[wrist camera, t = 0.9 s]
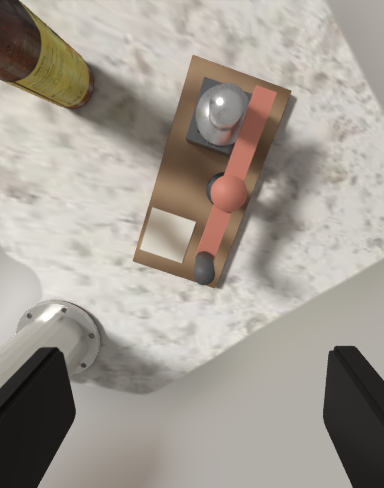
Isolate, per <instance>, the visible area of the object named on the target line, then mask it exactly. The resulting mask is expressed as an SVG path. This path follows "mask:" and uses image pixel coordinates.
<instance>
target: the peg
mask: <svg viewBox="0 0 384 488" xmlns="http://www.w3.org/2000/svg"><path fill="white" fill-rule="evenodd" d="M249 103H250V101H249V99H248V97H247V96H246V94H245V93H244V92H243V90H242V89H241V88H240V87H239V86H238V85H236V84H234V83H223V84H220V85H216V86H214V87H212V88H210V89H208V90H207V91H206V92H205V93H204V94H203V95H202V97H201V98H200V100H199V102H198V105H197V108H196V124H197V127H198V130H199V132H200V134H201V135H202V137H203V138H204V139H205V140H207V141H208V142H210V143H212V144H214V145H218V146H226V145H230V144H233V143H235V142H236V140H237V137H238V134H239V131H240V128H241V126H242V123H243V120H244V117H245V114H246V111H247V109H248V106H249Z"/></svg>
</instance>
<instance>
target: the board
mask: <svg viewBox="0 0 384 488" xmlns="http://www.w3.org/2000/svg"><path fill="white" fill-rule="evenodd" d="M204 77H207V78H210V79H213V80H215V81H218V82H221V83H234V84H236V85H238V86H239V87H240V88H241V89H242V90H243V91H246V92H249V93H251V94H253V92H254V89H255V87H256V85H258V86H260V87H263V88H266V89H269V90H271V91H274V92H277V94H276V96H275V99H274V102H273V104H272V107H271V110H270V112H269V115H268V118H267V120H266V123H265V126H264V128H263V131H262V134H261V136H260V139H259V142H258V144H257V147H256V150H255V152H254V155H253V158H252V160H251V163H250V166H249V168H248V171H247V174H246V176H245V179H244V183H245V185H246V188H247V198H246V201H245V203H244V204H243V205H242V206H241V207H240V208H239V209H237V210H235V211H232V214H231V216H230V219H229V221H228V224H227V227H226V229H225V232H224V235H223V237H222V240H221V243H220V245H219V248H218V251H217V253H216V256H215V259H214V269H215V278H214V280H213V282H212V283H210V284H208V285H206V286H209V287H212V288H215V287H216V284H217V282H218V279H219V277H220V274H221V272H222V269H223V266H224V264H225V261H226V259H227V256H228V254H229V251H230V248H231V246H232V243H233V241H234V238H235V236H236V233H237V230H238V228H239V225H240V223H241V220H242V217H243V215H244V212H245V210H246V207H247V205H248V202H249V199H250V197H251V194H252V192H253V189H254V187H255V184H256V181H257V179H258V176H259V174H260V171H261V169H262V166H263V163H264V161H265V158H266V156H267V153H268V150H269V148H270V145H271V143H272V140H273V138H274V135H275V132H276V130H277V127H278V125H279V122H280V120H281V117H282V114H283V112H284V109H285V107H286V104H287V102H288V99H289V96H290V94H291V90H288V89H285V88H283V87H280V86H277V85H274V84H272V83H269V82H266V81H263V80H261V79H258V78H255V77H252V76H250V75H247V74H244V73H241V72H239V71H236V70H233V69H230V68H228V67H225V66H222V65H219V64H217V63H214V62H211V61H209V60H206V59H203V58H200V57H198V56H195V55H193V56H192V59H191V63H190V66H189V70H188V73H187V76H186V80H185V83H184V87H183V90H182V94H181V97H180V100H179V104H178V107H177V111H176V114H175V118H174V121H173V124H172V128H171V131H170V135H169V138H168V142H167V145H166V148H165V152H164V155H163V159H162V162H161V166H160V169H159V172H158V176H157V179H156V183H155V186H154V190H153V193H152V196H151V200H150V203H149V207H148V210H147V214H146V217H145V221H144V224H143V227H142V231H141V234H140V238H139V241H138V245H137V248H136V251H135V255H134V258H133V261H134V262H137V263H140V264H143V265H146V266H149V267H152V268H155V269H158V270H161V271H164V272H167V273H170V274H173V275H176V276H179V277H182V278H185V279H188V280H191V281H194V282H196V281H195V279H194V277H193V273H194V264H195V257H196V252H197V250H198V247H199V244H200V241H201V238H202V235H203V233H204V230H205V227H206V224H207V221H208V219H209V216H210V213H211V210H212V207H213V204H212V203H211V202H210V201H209V199H208V197H207V193H206V188H207V184H208V182H209V180H210V179H211V178H212V177H213V176H214V175H215V174H218V173H221V172H225V171H226V168H227V165H228V162H229V159H230V158H229V157H226V156H223V155H220V154H218V153H215V152H212V151H209V150H206V149H203V148H201V147H198V146H195V145H192V144H189V143H187V141H186V139H185V138H186V135H187V132H188V128H189V125H190V122H191V119H192V115H193V112H194V109H195V106H196V102H197V99H198V96H199V93H200V89H201V86H202V83H203V80H204Z"/></svg>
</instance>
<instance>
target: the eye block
mask: <svg viewBox="0 0 384 488" xmlns="http://www.w3.org/2000/svg"><path fill="white" fill-rule="evenodd" d="M220 84H223V83H221V82H218V81H215V80H213V79H210V78H207V77H204V80H203V83H202V86H201V89H200V93H199V96H198V99H197V102H196V106H195V109H194V112H193V115H192V119H191V122H190V125H189V128H188V132H187V135H186V138H185V139H186V141H187V143H189V144H192V145H195V146H198V147H201V148H203V149H206V150H209V151H212V152H215V153H218V154H220V155H223V156H226V157H229V158H230V157H231V154H232V151H233V148H234V145H235V143H233V144H230V145H226V146H218V145H214V144H212V143H210V142H208V141H207V140H205V139H204V138H203V137H202V135H201V134H200V132H199V130H198V127H197V124H196V108H197V105H198V102H199V100H200V98H201V97H202V95H203V94H204V93H205V92H206V91H207V90H208V89H210V88H212V87H214V86H216V85H220ZM243 92H244V93H245V94H246V96H247V97H248V99H249V101H250V100H251V97H252V95H253V94H251V93H249V92H246V91H243Z"/></svg>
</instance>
